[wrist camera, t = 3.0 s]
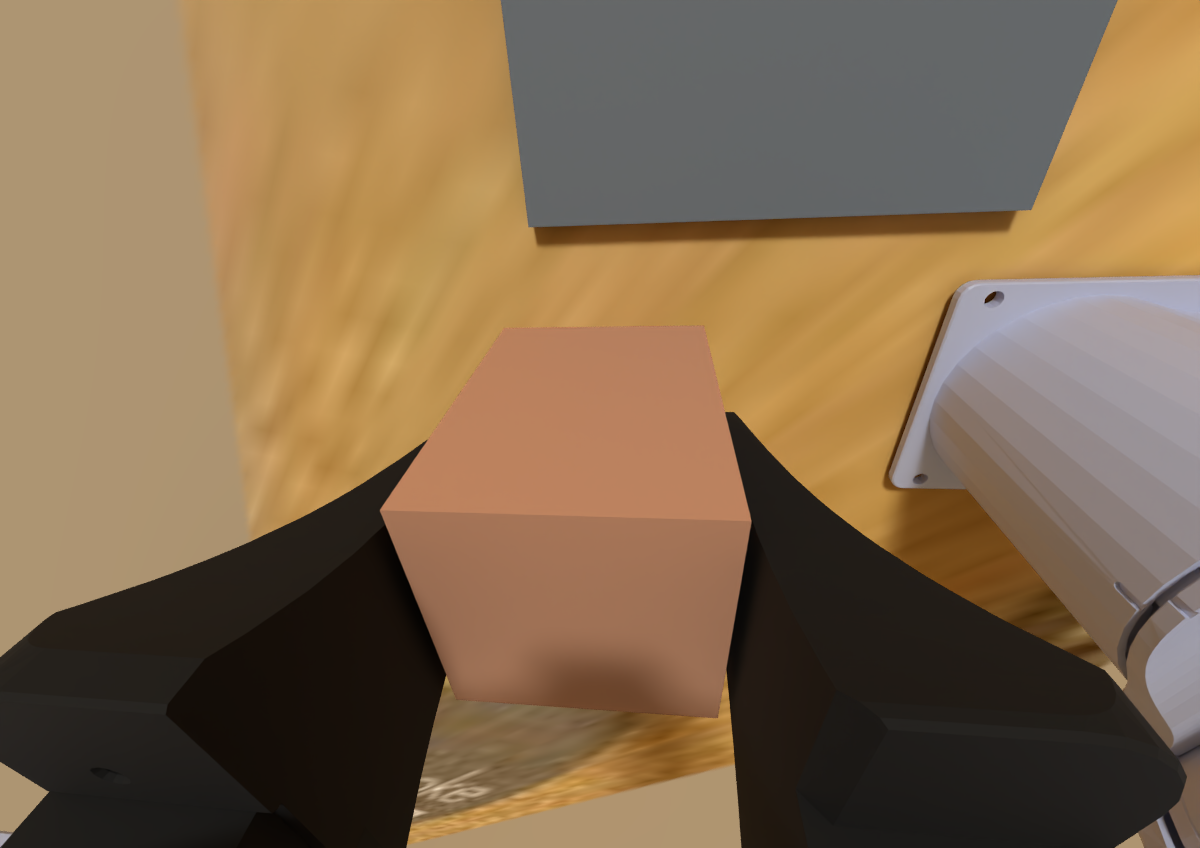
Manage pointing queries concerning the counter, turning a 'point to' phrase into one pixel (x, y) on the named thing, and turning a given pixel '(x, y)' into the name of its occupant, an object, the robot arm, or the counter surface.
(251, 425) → the counter surface
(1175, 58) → the counter surface
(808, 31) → the mat
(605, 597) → the block
